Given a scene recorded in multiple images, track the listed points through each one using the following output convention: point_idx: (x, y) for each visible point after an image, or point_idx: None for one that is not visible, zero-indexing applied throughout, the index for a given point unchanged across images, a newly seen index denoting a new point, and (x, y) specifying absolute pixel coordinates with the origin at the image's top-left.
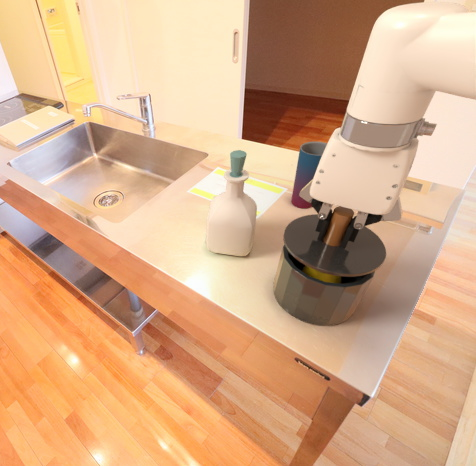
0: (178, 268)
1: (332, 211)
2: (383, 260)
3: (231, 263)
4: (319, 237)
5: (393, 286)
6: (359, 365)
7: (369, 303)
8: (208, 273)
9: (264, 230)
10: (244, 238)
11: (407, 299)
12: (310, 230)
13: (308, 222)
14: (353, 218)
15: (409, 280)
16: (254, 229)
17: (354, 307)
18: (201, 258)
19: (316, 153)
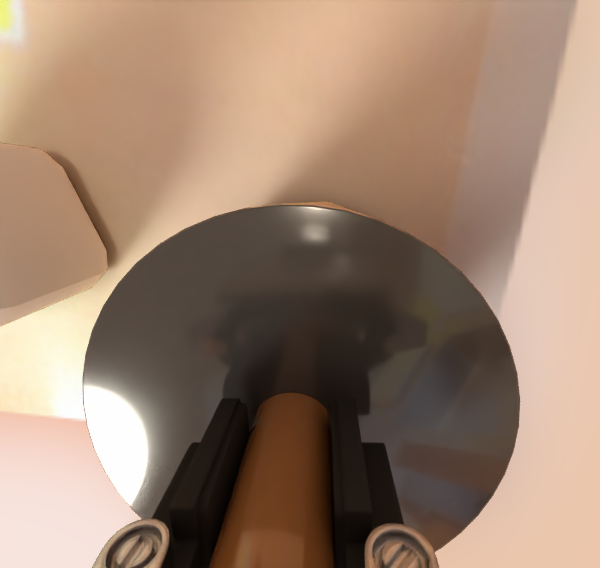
0: (12, 389)
1: (195, 505)
2: (511, 450)
3: (98, 304)
4: None
5: (490, 143)
6: None
7: (439, 248)
8: (77, 366)
9: (83, 98)
10: (42, 306)
11: (525, 176)
12: (184, 401)
13: (149, 344)
14: (344, 518)
15: (531, 86)
16: (31, 273)
17: None
18: (27, 329)
19: None
